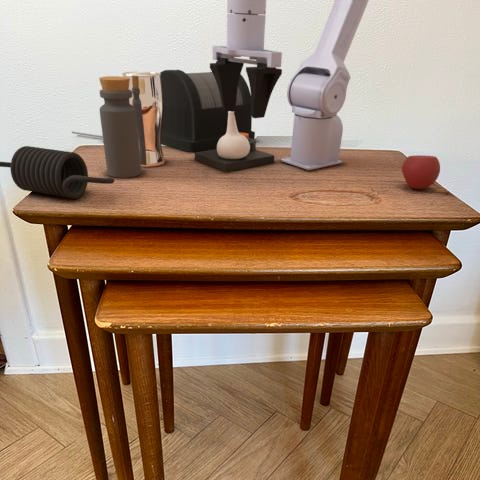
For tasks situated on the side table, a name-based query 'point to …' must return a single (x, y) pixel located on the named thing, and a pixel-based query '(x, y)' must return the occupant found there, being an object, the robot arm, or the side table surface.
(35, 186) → the coil
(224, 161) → the scale
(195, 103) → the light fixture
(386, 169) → the side table surface
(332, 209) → the side table surface
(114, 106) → the bottle
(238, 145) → the garlic bulb
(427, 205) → the side table surface
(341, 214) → the side table surface
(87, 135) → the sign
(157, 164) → the beer glass
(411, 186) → the fruit
